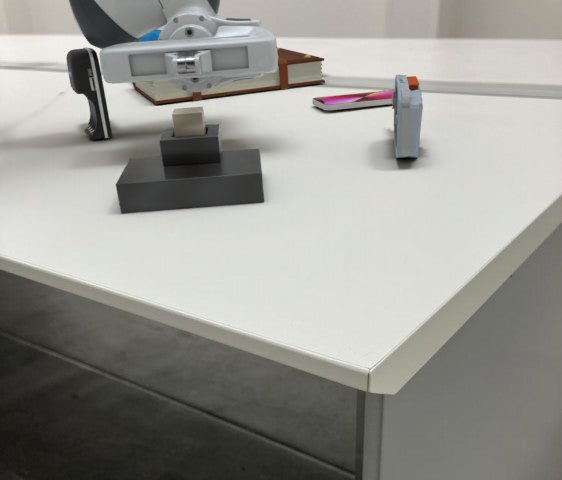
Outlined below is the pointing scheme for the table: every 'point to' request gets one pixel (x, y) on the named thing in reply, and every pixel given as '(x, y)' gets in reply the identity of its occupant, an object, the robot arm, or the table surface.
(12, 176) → the table surface
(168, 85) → the book
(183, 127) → the beige cube
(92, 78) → the black curved upright piece
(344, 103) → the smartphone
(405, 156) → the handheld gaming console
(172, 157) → the grey stepped pedestal
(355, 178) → the table surface
